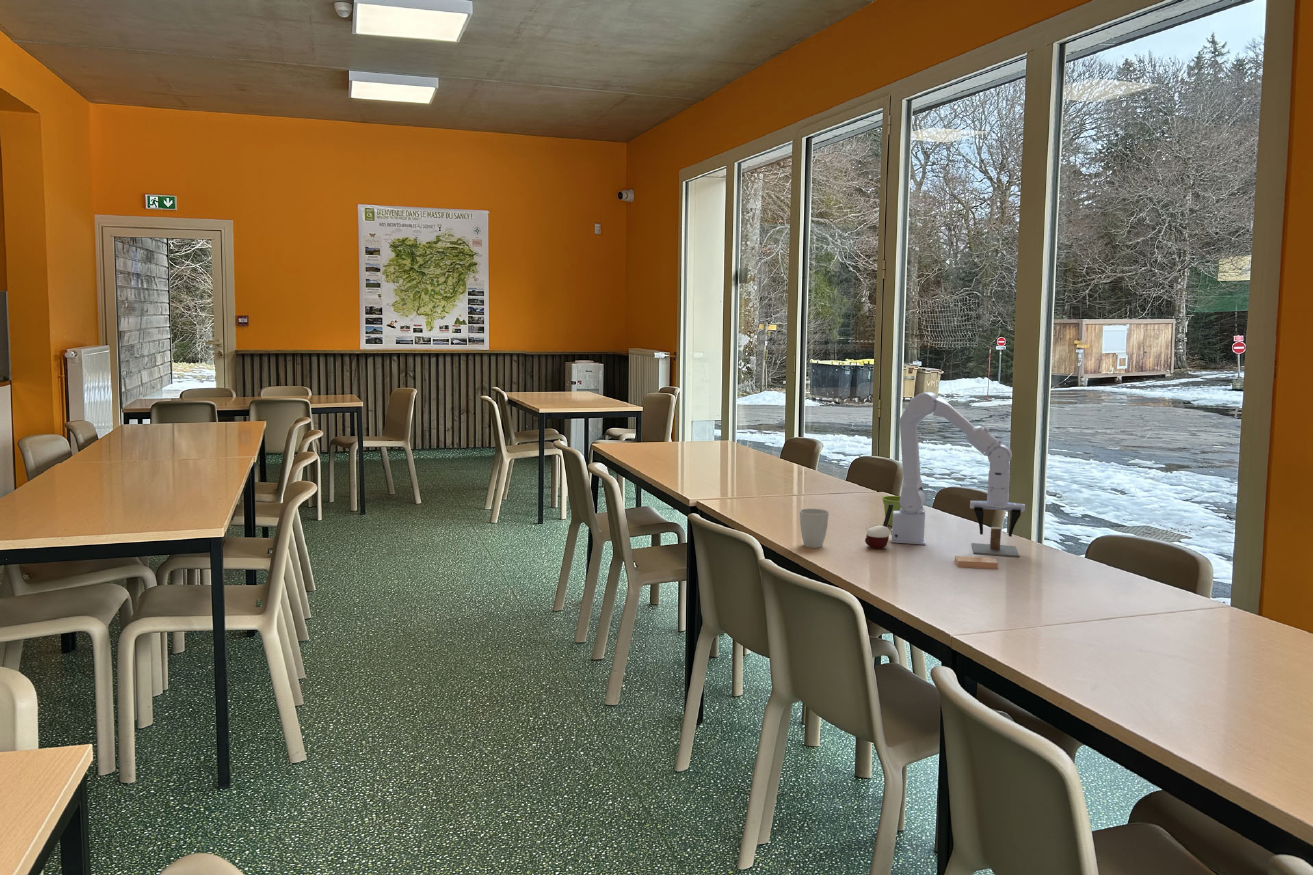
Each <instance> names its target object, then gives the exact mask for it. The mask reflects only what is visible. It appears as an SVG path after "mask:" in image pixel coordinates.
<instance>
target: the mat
mask: <svg viewBox="0 0 1313 875" xmlns="http://www.w3.org/2000/svg"><path fill="white" fill-rule="evenodd" d="M971 547H972V553H973V555H984V556H985V555H986V556H999V557H1001V556H1002V557H1012V558H1013V557H1014V558H1020V554H1019V551H1018V549H1017V547H1016V545H1004V544H1003V545H1002V544H1000V550H993V549H990V543H977V542H975V543H974V542H971Z"/></svg>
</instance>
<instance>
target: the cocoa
mask: <svg viewBox="0 0 1313 875" xmlns="http://www.w3.org/2000/svg"><path fill="white" fill-rule="evenodd" d="M892 508H893V504H889V507H888V510H887V513H886V517H885V516H884V521H883V524H882V525H874V526H872V527H870V528H868V529H867V530H866V537H865V538H864V542H865V544H866V545H867V546H868V547H870V548H871V549H874V550H875V549H876V550H882V549H884V548H886V547H887V546H888V543H889V537H890V535H891V530H890V529H889V527H888V526H889V525H888V522H889V518H890V515H891V512H892Z"/></svg>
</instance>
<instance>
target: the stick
mask: <svg viewBox="0 0 1313 875" xmlns="http://www.w3.org/2000/svg"><path fill="white" fill-rule="evenodd" d="M1001 536H1002V528H1001V527H999V526H991V527H990V540H989V541H990V542H989V544H990V549H993V550H1000V545H1001V539H1002V538H1001Z"/></svg>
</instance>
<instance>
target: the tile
mask: <svg viewBox="0 0 1313 875" xmlns="http://www.w3.org/2000/svg"><path fill="white" fill-rule="evenodd" d="M954 562H955V564H956V566H957V567H958V568H974V569H975V568H977V569H996V570H997V569H998V568H999V567H998V566H999V563H998V562H997V560H996V559H995V558H994V557H990V556H988V557H987V556H969V555H968V556H967V555H966V556H965V555H954Z"/></svg>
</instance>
